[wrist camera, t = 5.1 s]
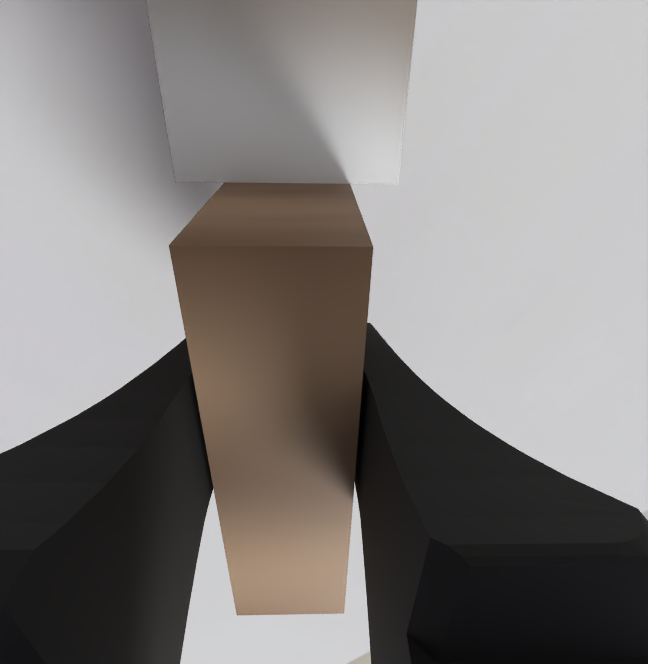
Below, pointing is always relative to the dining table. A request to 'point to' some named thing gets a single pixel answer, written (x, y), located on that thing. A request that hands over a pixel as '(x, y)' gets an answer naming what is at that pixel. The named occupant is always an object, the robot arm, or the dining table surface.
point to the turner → (281, 263)
